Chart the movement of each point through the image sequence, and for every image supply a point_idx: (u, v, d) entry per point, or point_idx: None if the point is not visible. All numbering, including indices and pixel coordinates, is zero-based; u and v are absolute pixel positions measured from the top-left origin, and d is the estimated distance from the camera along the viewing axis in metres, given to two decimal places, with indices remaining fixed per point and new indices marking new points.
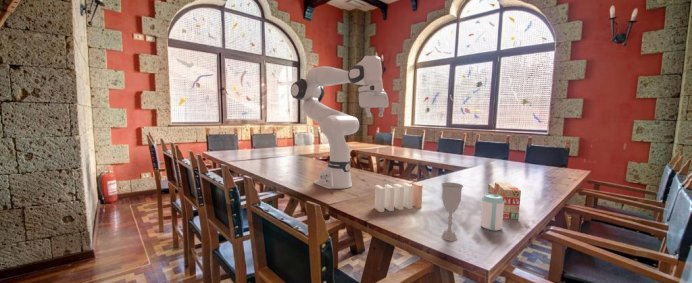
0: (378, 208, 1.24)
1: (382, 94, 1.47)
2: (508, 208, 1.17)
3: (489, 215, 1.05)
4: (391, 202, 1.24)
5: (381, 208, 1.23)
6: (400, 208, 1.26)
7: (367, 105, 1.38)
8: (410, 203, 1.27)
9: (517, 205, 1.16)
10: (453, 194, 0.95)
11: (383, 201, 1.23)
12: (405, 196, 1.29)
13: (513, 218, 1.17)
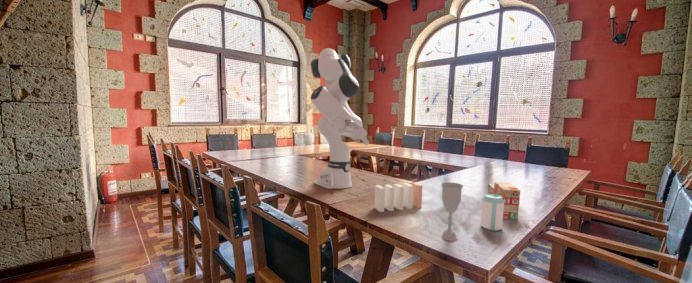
0: (378, 208, 1.24)
1: (347, 128, 1.19)
2: (508, 208, 1.17)
3: (489, 215, 1.05)
4: (391, 202, 1.24)
5: (381, 208, 1.23)
6: (400, 208, 1.26)
7: (345, 135, 1.33)
8: (410, 203, 1.27)
9: (516, 205, 1.16)
10: (453, 194, 0.95)
11: (383, 201, 1.23)
12: (405, 196, 1.29)
13: (512, 218, 1.17)
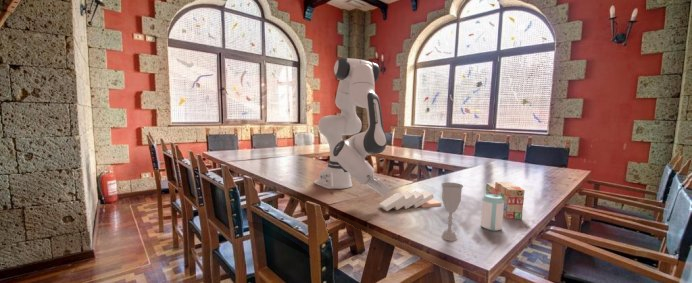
0: (385, 205, 1.25)
1: (369, 183, 1.18)
2: (512, 207, 1.17)
3: (489, 215, 1.05)
4: (402, 203, 1.26)
5: (388, 206, 1.24)
6: (406, 205, 1.27)
7: None
8: (419, 203, 1.29)
9: (521, 204, 1.17)
10: (453, 194, 0.95)
11: (394, 205, 1.25)
12: None
13: (517, 217, 1.18)
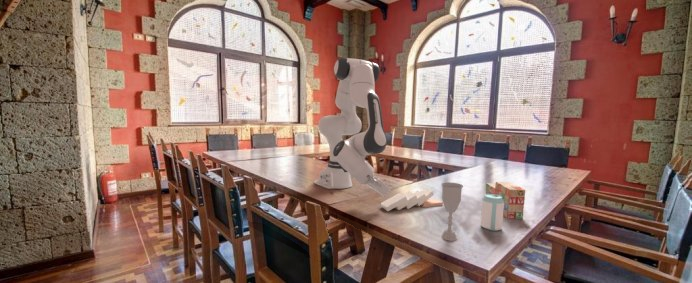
0: (386, 205, 1.25)
1: (369, 183, 1.18)
2: (513, 207, 1.17)
3: (489, 215, 1.05)
4: (404, 204, 1.26)
5: (389, 207, 1.24)
6: (408, 205, 1.27)
7: None
8: (422, 201, 1.30)
9: (522, 204, 1.17)
10: (453, 194, 0.95)
11: (395, 205, 1.25)
12: None
13: (518, 217, 1.18)
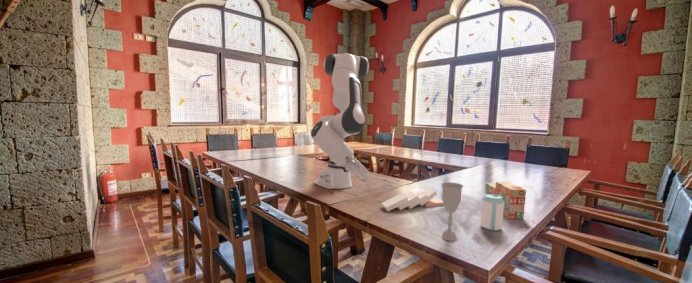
0: (387, 205, 1.25)
1: (348, 165, 1.14)
2: (514, 207, 1.17)
3: (489, 215, 1.05)
4: (406, 204, 1.26)
5: (389, 207, 1.24)
6: (410, 205, 1.27)
7: (347, 168, 1.28)
8: (424, 201, 1.31)
9: (522, 204, 1.17)
10: (453, 194, 0.95)
11: (396, 206, 1.25)
12: None
13: (518, 217, 1.18)
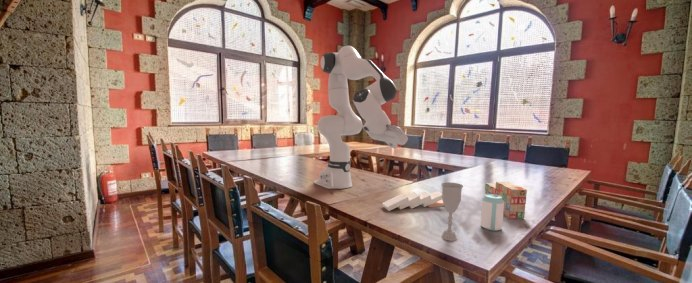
0: (388, 204, 1.25)
1: (387, 133, 1.19)
2: (515, 207, 1.18)
3: (489, 215, 1.05)
4: (406, 203, 1.26)
5: (390, 206, 1.24)
6: (411, 205, 1.27)
7: None
8: (428, 202, 1.29)
9: (523, 204, 1.17)
10: (453, 194, 0.95)
11: (397, 205, 1.25)
12: None
13: (519, 217, 1.18)
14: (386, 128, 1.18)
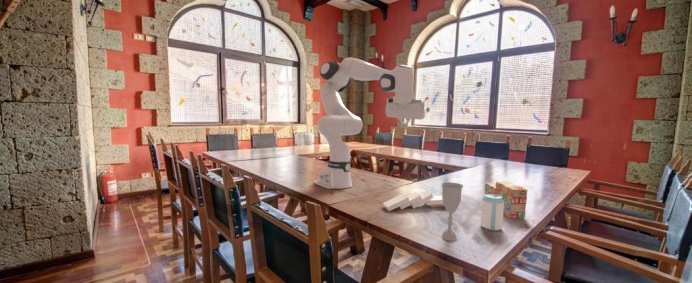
0: (388, 205, 1.25)
1: (411, 105, 1.40)
2: (516, 207, 1.18)
3: (489, 215, 1.05)
4: (407, 203, 1.27)
5: (390, 206, 1.24)
6: (413, 205, 1.28)
7: (388, 116, 1.50)
8: (432, 202, 1.29)
9: (524, 204, 1.18)
10: (453, 194, 0.95)
11: (397, 206, 1.25)
12: (435, 197, 1.32)
13: (520, 217, 1.18)
14: (411, 101, 1.40)
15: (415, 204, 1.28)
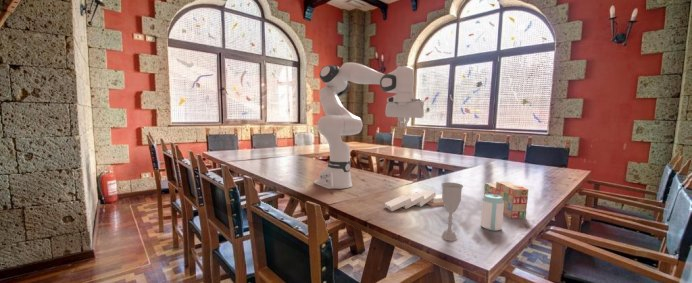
0: (391, 205, 1.25)
1: (410, 104, 1.43)
2: (517, 207, 1.18)
3: (489, 215, 1.05)
4: (411, 203, 1.28)
5: (393, 206, 1.24)
6: (421, 203, 1.29)
7: (388, 115, 1.52)
8: (438, 200, 1.33)
9: (525, 204, 1.18)
10: (453, 194, 0.95)
11: (400, 206, 1.25)
12: (439, 196, 1.36)
13: (521, 217, 1.19)
14: (411, 100, 1.44)
15: (422, 202, 1.30)
